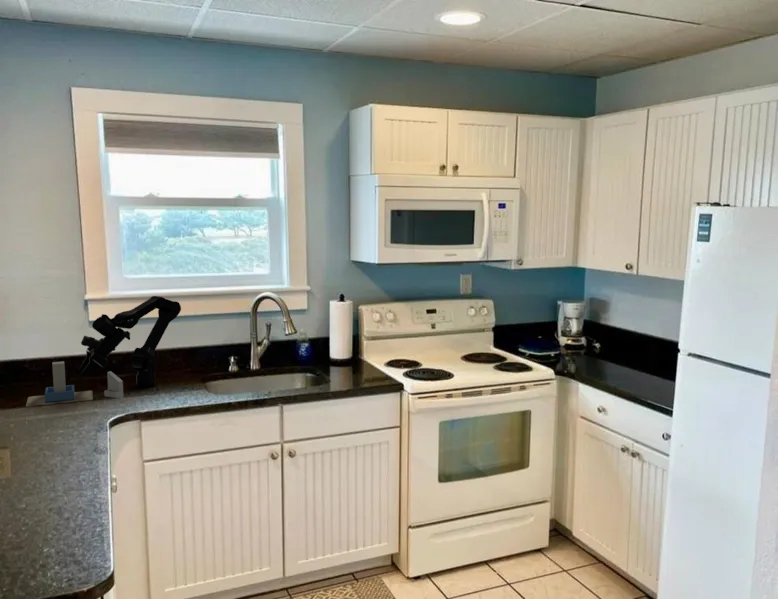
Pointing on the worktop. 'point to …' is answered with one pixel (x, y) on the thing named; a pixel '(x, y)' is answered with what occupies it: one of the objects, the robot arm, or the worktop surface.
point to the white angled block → (114, 386)
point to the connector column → (59, 376)
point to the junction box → (59, 394)
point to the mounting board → (78, 397)
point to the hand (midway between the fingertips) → (81, 372)
